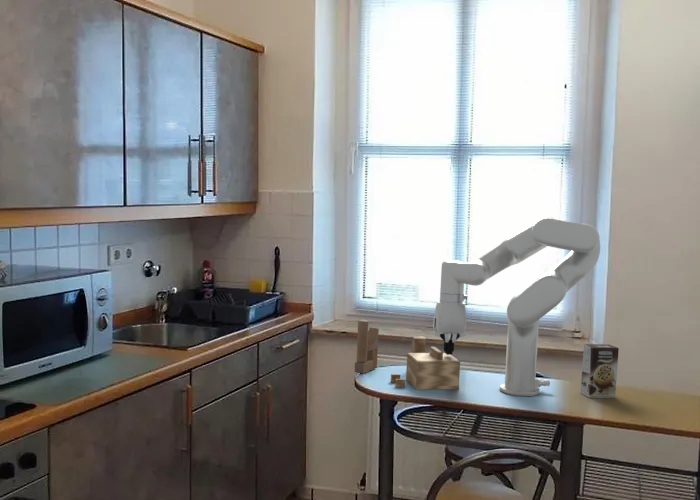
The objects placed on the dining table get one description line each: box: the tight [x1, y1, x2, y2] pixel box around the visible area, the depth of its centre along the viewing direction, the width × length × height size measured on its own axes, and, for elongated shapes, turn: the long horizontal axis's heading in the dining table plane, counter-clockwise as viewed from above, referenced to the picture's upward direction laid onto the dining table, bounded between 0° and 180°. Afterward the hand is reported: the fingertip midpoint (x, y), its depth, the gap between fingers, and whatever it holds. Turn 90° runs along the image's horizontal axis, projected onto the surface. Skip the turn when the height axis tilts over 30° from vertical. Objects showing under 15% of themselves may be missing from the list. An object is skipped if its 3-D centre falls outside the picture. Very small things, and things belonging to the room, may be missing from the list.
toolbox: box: [390, 352, 461, 390], centre depth 249 cm, size 20×13×9 cm, turn 101°
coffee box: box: [580, 343, 620, 399], centre depth 242 cm, size 9×6×16 cm
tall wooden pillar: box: [410, 335, 427, 353], centre depth 266 cm, size 4×4×12 cm
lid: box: [407, 346, 460, 363], centre depth 249 cm, size 14×11×3 cm
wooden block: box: [354, 319, 380, 374], centre depth 265 cm, size 4×11×18 cm, turn 152°
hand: (448, 353), depth 250 cm, fingers closed
